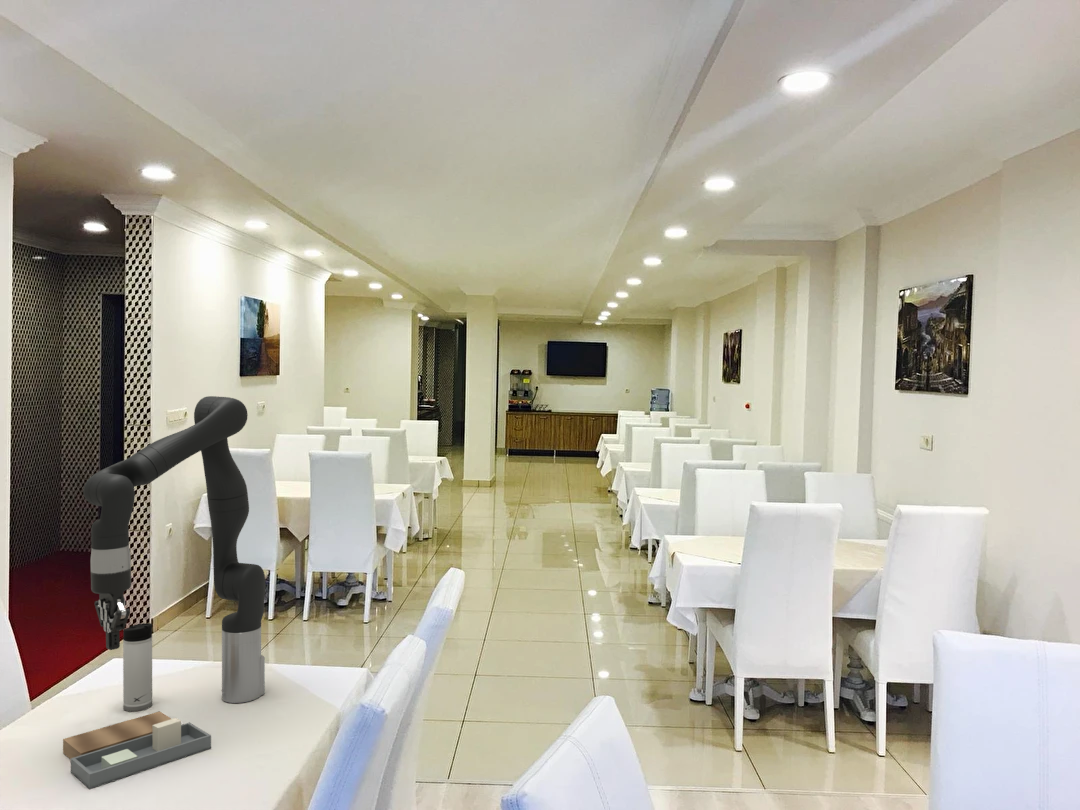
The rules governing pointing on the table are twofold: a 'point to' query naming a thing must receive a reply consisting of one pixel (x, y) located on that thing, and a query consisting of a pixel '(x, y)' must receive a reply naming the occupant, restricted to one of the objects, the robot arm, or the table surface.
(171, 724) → the tile
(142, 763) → the tray
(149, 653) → the travel mug
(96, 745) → the walnut board
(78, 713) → the table surface
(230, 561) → the robot arm
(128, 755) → the tile
